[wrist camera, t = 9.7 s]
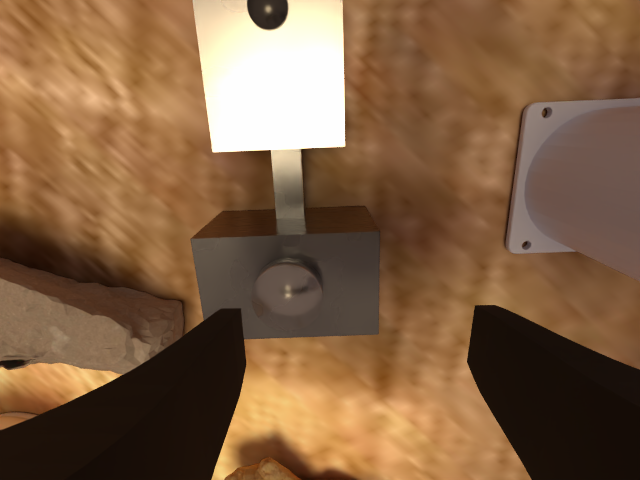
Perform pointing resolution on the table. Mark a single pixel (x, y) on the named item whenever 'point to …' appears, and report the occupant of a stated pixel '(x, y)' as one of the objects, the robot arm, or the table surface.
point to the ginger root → (263, 472)
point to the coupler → (292, 263)
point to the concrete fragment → (80, 322)
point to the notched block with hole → (272, 73)
